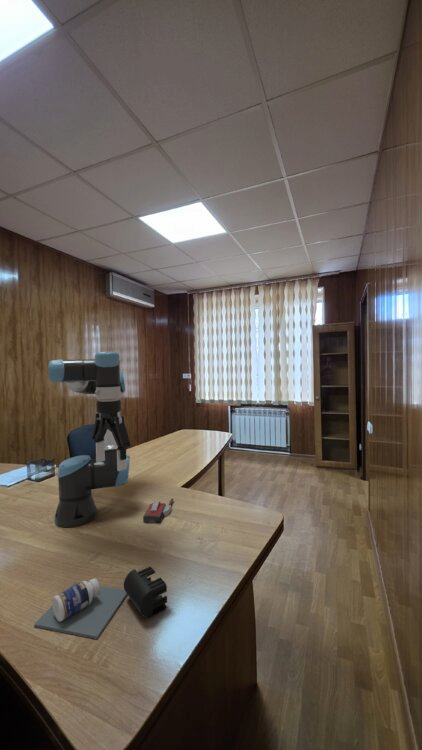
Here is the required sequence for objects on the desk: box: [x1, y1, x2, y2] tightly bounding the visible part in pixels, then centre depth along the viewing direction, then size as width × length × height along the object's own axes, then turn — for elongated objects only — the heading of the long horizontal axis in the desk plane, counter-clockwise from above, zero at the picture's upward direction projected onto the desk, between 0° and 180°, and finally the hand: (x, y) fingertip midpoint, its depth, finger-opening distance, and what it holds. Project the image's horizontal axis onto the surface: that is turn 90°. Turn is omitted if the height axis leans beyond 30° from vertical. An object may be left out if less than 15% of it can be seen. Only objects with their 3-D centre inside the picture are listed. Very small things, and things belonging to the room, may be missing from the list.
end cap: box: [123, 566, 168, 619], centre depth 76 cm, size 10×7×7 cm
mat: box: [33, 581, 128, 640], centre depth 75 cm, size 16×14×1 cm
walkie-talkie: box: [142, 498, 174, 524], centre depth 125 cm, size 9×4×20 cm
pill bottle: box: [52, 577, 101, 622], centre depth 74 cm, size 5×5×10 cm
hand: (110, 465), depth 100 cm, fingers open, 13 cm apart
